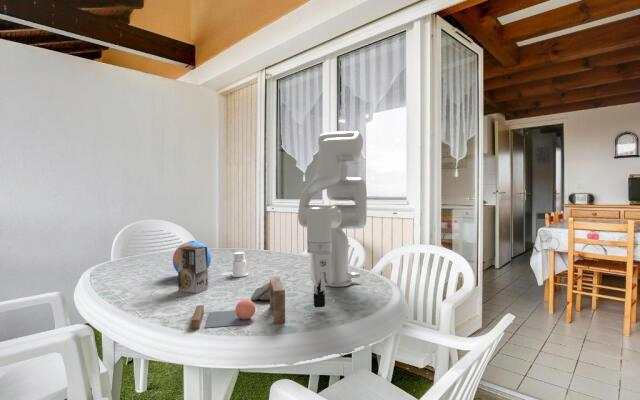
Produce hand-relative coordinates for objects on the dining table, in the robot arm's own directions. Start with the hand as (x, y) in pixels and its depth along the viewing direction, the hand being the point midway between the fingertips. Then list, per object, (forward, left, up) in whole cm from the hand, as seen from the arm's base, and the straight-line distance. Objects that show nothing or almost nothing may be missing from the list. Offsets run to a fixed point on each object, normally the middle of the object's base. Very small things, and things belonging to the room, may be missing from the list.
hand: (319, 306), depth 106 cm
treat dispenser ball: (+44, -54, -2) cm, 70 cm away
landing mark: (+27, 0, -2) cm, 27 cm away
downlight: (+24, -52, -2) cm, 57 cm away
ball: (+22, +2, +1) cm, 22 cm away
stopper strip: (+35, 0, -2) cm, 36 cm away
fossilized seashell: (+15, -17, -2) cm, 23 cm away
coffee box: (+41, -33, -2) cm, 53 cm away
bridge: (+13, 0, -2) cm, 13 cm away
